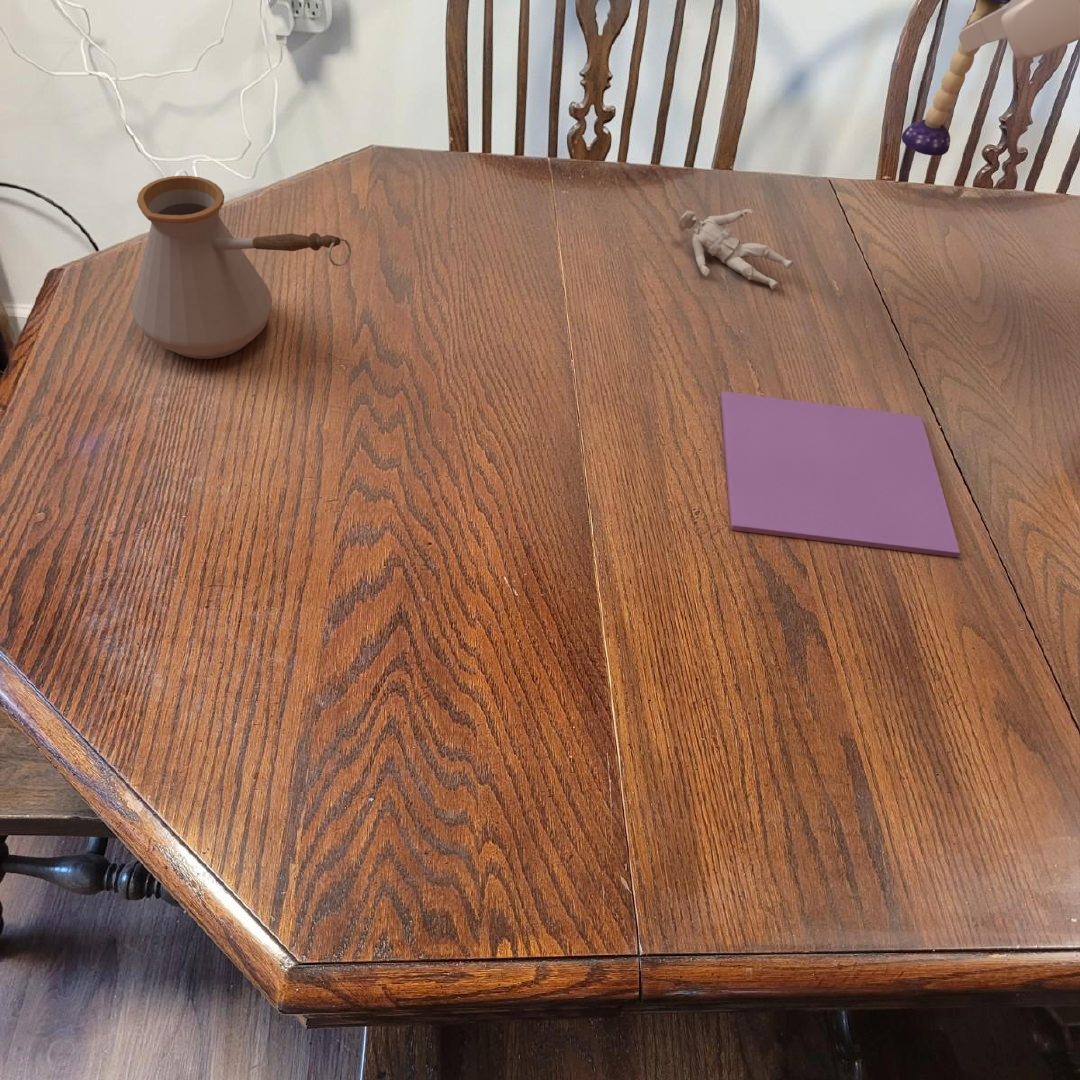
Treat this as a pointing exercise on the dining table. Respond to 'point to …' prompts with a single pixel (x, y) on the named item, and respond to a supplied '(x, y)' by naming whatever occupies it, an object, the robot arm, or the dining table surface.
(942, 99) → the toy lamp
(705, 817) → the dining table surface
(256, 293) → the coffee pot
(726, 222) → the soldier figure
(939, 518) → the mat
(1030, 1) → the robot arm
